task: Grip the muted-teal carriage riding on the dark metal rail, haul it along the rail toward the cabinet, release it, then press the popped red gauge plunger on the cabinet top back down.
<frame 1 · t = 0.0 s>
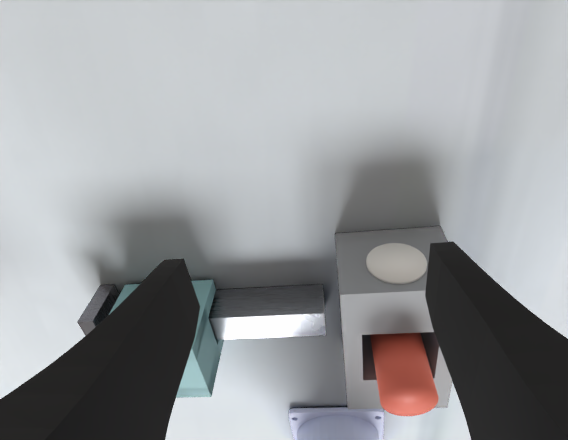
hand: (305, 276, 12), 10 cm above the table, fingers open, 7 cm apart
carriage: (165, 337, 25), point 3 cm above the table, slide at 0.0 cm
rail: (214, 300, 27), on the table
plunger: (401, 365, 21), point 5 cm above the table, slide at 0.0 cm
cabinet: (385, 291, 26), on the table
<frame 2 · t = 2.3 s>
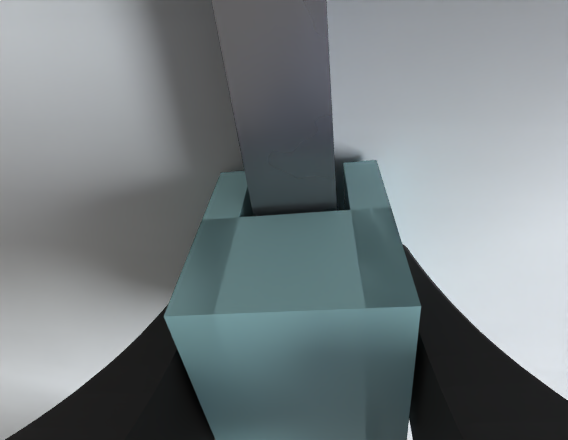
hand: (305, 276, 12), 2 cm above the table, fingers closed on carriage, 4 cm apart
carriage: (305, 312, 11), point 3 cm above the table, slide at 0.0 cm, touching gripper
rail: (298, 177, 12), on the table
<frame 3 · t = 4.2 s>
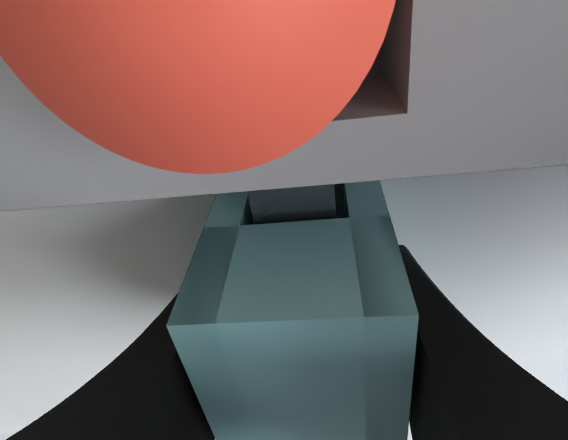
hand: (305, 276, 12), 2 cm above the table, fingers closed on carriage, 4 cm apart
carriage: (305, 318, 11), point 3 cm above the table, slide at 5.8 cm, touching gripper
rail: (314, 316, 15), on the table
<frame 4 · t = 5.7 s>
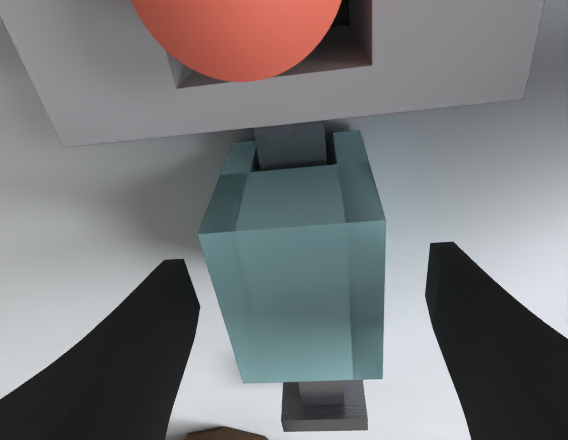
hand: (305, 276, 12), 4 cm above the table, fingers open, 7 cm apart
carriage: (302, 253, 13), point 3 cm above the table, slide at 5.8 cm
rail: (310, 268, 17), on the table
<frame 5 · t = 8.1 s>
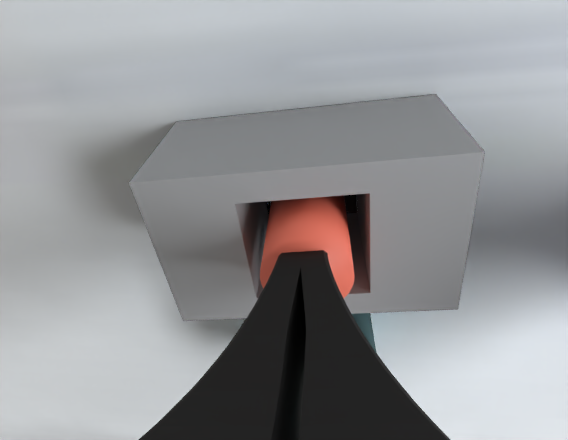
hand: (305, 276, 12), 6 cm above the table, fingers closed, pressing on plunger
carriage: (323, 358, 19), point 3 cm above the table, slide at 5.8 cm
plunger: (307, 237, 13), point 4 cm above the table, slide at 1.3 cm, touching gripper
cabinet: (308, 177, 17), on the table
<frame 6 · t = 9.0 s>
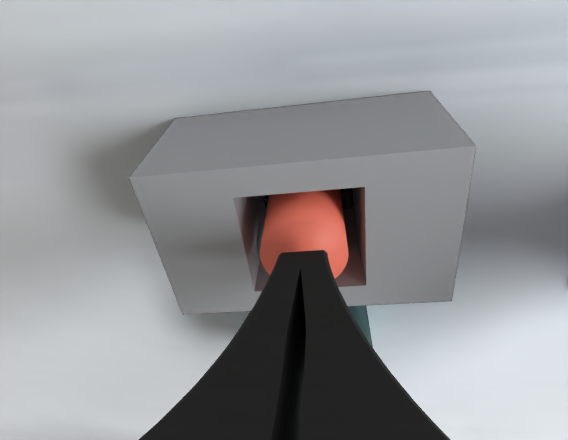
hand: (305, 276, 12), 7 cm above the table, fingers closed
carriage: (320, 351, 19), point 3 cm above the table, slide at 5.8 cm
plunger: (304, 220, 14), point 4 cm above the table, slide at 1.9 cm
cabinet: (305, 173, 17), on the table
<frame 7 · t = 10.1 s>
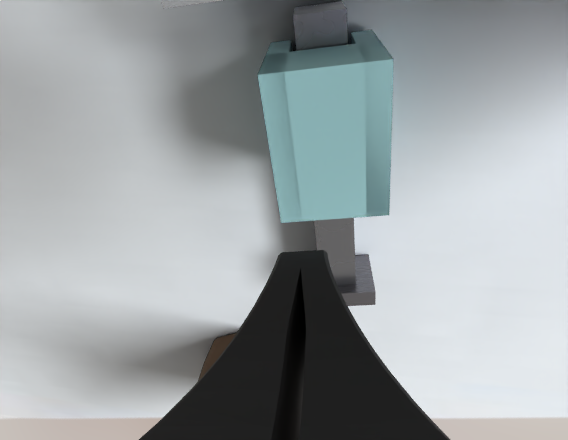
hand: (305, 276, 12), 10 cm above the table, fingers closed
carriage: (327, 124, 17), point 3 cm above the table, slide at 5.8 cm
beer bottle: (253, 357, 31), on the table
rail: (329, 162, 21), on the table
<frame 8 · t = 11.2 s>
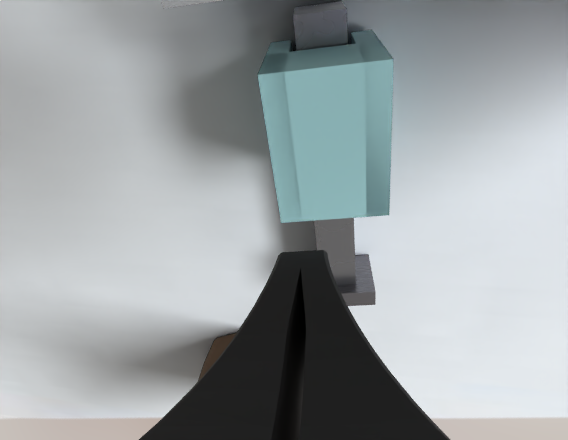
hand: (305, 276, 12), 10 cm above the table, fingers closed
carriage: (327, 124, 17), point 3 cm above the table, slide at 5.8 cm
beer bottle: (253, 357, 31), on the table
rail: (329, 162, 21), on the table
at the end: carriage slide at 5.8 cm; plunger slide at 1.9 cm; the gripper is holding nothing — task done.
